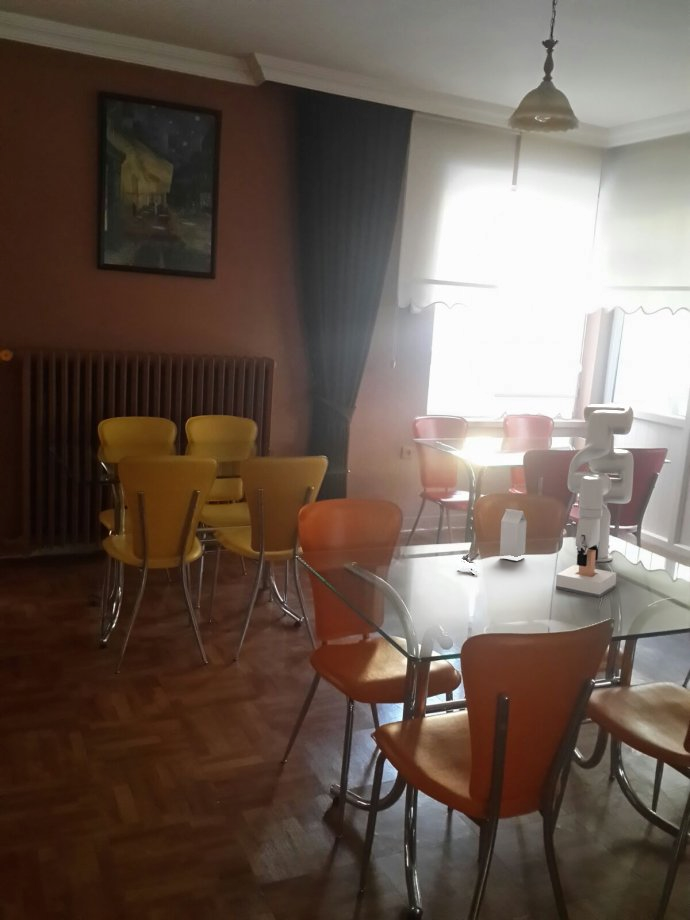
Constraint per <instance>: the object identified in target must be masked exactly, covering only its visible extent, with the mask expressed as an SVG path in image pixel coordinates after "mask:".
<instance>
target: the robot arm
mask: <svg viewBox="0 0 690 920" xmlns="http://www.w3.org/2000/svg"><path fill="white" fill-rule="evenodd" d="M583 418H584V421H585V424H586V426H587V428H586V437H585V445H584V447H582V448H581V449H579V451H578V452H577V453H576V454H575V455H574V456H573V458H572V459H571V460H570V464H569V467H568V474H567V488H568V490H569V491H570V493H571V492H572V493H575V494H579V497H578V499H579V500H578V515H577V517H578V521H577V527H576V534H575V535H576V536H575V546H576V547H577V548H576V550H577V551H576V553H577V554H576V555H577V557H576V565H577V566H587V555H586V553H587V550H588V549H591V550H596V556H595V563H605V562H610V561H612V560H613V556H612V554H610V553H609V550H610V544H609V543H610V529H611V512H610V509H609V508H608V507H607V505H606V504H608V503H609V504H618V505H619V504H620V505H621V504H622V505H624V504H628V503H630V502H631V500H632V497H633V487H634V485H633V484H634V463H635V461H634V456H633V453H632V452H631V451H630V450H627V449H615V448H614V444H615V443H614V442H615V435H622V436H623V435H624V436H625V435H628V434H629V433H630V432H631V429H632V425H633V423H634V422H633V421H634V411H633V408H632V407H631V406H629V405H626V404H625V405H622V404H605V403H604V404H601V403H599V404H597V403H594V404H588V405H586V406H585V407H584V410H583ZM586 463H588V464H589V469H590V471H578V470H579V468H580V467H581V466H582V465H584V464H586ZM609 475H617V476H619V477H610V476H609ZM605 503H606V504H605ZM584 548H585V550H584Z"/></svg>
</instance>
